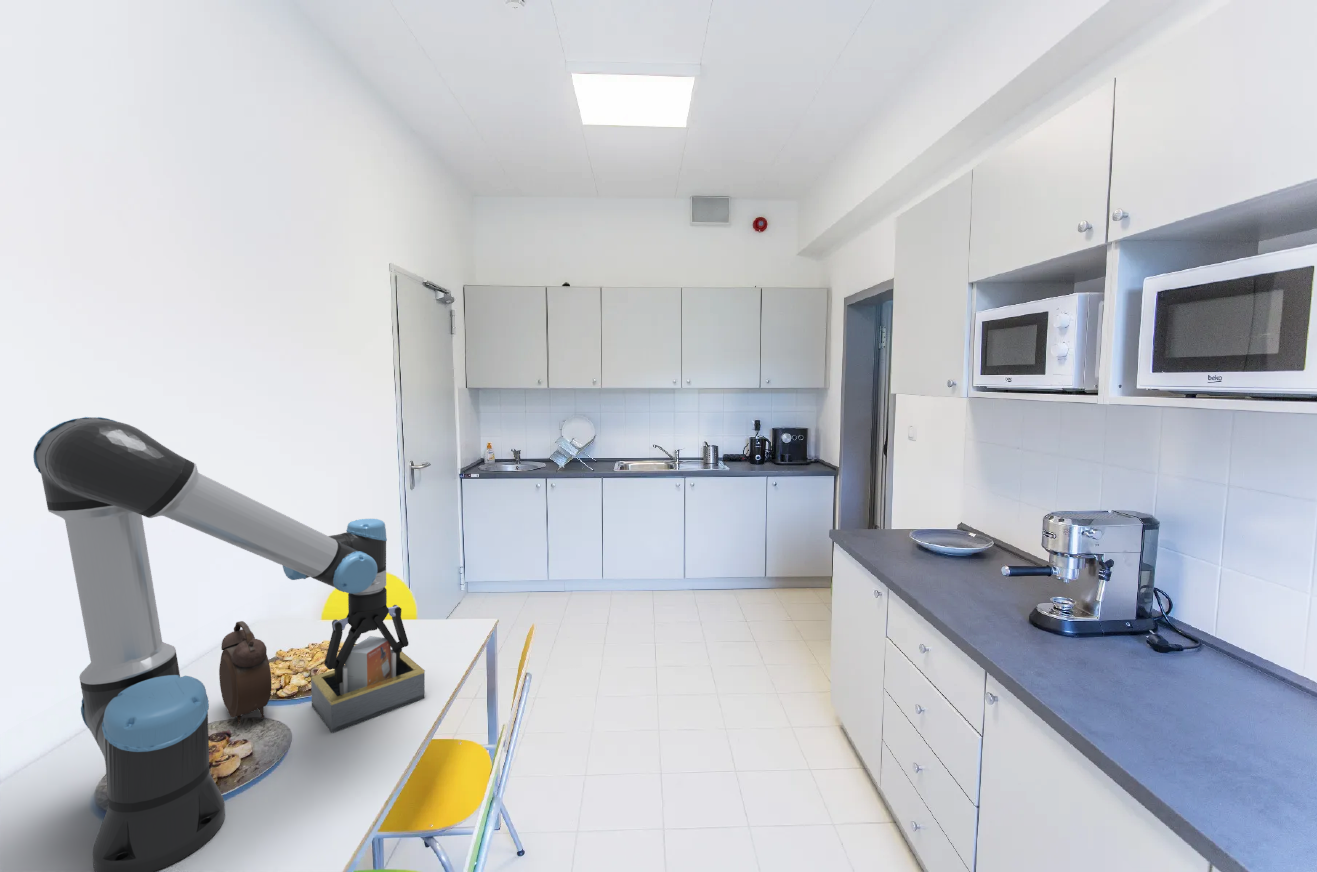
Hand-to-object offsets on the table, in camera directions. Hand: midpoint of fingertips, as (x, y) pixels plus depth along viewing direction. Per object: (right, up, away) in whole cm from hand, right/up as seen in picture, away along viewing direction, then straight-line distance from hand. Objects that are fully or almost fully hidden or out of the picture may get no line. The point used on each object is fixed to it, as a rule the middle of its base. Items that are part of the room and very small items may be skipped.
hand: (368, 686), depth 123 cm
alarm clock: (-23, -3, -5) cm, 24 cm away
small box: (0, -1, 0) cm, 1 cm away
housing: (0, -3, 0) cm, 3 cm away
